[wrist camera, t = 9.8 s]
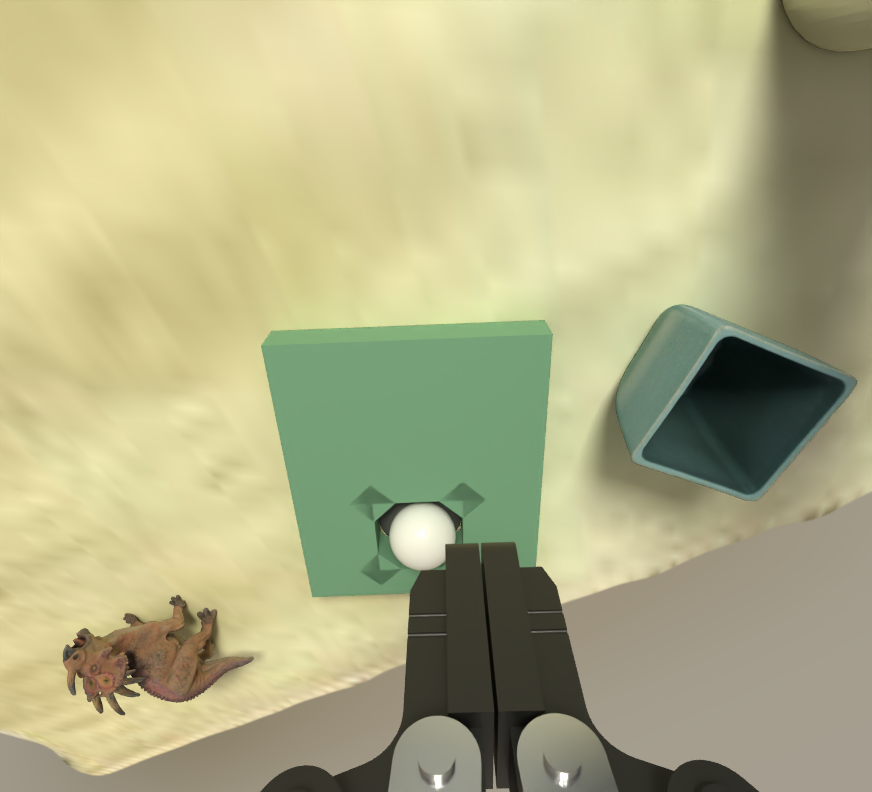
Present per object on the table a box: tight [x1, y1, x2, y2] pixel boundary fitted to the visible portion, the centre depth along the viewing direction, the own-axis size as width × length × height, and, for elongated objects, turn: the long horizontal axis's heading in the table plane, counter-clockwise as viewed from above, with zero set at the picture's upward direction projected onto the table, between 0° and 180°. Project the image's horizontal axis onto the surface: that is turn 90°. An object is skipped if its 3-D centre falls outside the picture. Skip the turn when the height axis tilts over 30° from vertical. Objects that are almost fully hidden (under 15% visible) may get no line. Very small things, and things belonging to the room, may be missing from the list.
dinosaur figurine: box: [63, 595, 254, 715], centre depth 44 cm, size 14×6×9 cm, turn 54°
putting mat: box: [261, 320, 553, 597], centre depth 39 cm, size 18×22×2 cm
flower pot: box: [616, 305, 857, 501], centre depth 32 cm, size 9×9×9 cm
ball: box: [389, 502, 456, 570], centre depth 40 cm, size 5×5×5 cm
